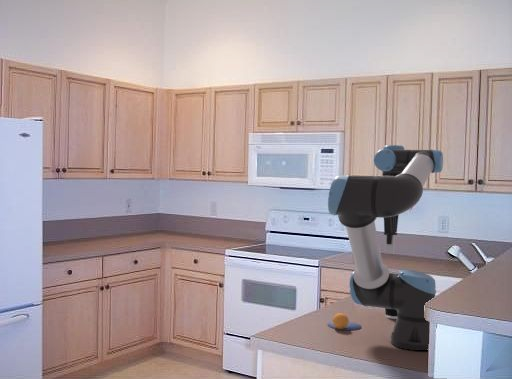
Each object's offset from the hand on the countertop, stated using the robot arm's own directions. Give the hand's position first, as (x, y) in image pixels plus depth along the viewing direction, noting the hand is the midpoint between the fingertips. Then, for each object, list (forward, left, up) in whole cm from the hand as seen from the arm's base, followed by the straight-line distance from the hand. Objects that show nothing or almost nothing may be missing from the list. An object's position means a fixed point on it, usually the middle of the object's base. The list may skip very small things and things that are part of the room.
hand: (389, 252), depth 206 cm
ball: (+2, +19, -24) cm, 31 cm away
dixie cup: (+8, -10, -27) cm, 30 cm away
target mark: (+5, +16, -26) cm, 31 cm away
